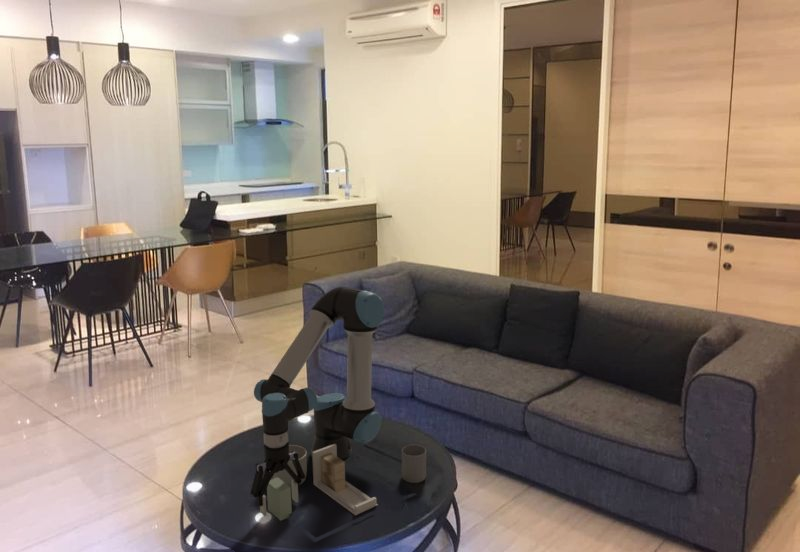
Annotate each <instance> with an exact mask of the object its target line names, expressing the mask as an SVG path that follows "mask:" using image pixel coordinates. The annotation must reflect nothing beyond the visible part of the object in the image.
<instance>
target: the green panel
mask: <svg viewBox="0 0 800 552" xmlns="http://www.w3.org/2000/svg"><path fill="white" fill-rule="evenodd" d="M266 493H267V494H266V496H267V497H266V500H267V511H269V512H270V513H271V514H272V515H274V516H275V517H276V518H277V519H278V520H279V522H280V521H283V520H286V519H288V518H290V517H292V515H291V514H292V513H293V512H292V511H293V510H292V488H291V487H290V486H288V485H287V484H286V483H285V482H283V481H282V480H281V479H279V478H278V477H277V478H274V479H273V478H271V480H270V482H269V484H268V486H267V488H266Z"/></svg>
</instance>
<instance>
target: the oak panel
mask: <svg viewBox="0 0 800 552" xmlns="http://www.w3.org/2000/svg"><path fill="white" fill-rule="evenodd" d="M321 464H322V483H324V484H325V485H326V486H328V487H329V488H330V489H332V490H333V491H335V492H336V493H337V492H340V491H342V490H344V489H345V481H346V462H345V460H344V459H343V460H341V459H340V458H338V457H337V456H335V455H334V454H332V453H330V454H327V455H324V456H322V457H321Z"/></svg>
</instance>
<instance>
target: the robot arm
mask: <svg viewBox="0 0 800 552" xmlns="http://www.w3.org/2000/svg"><path fill="white" fill-rule="evenodd" d="M384 317H385V304H384V302H383V299H382V298H381V297H380V296H379V295H378V294H377V293H375V292H371V291H369V290H364V289H357V288H352V287H348V286H338V287H334V288H332V289H330V290H329V291H327V292H326V293H325V294H323V295H322V296H320V297H319V299H318V300H317V301H316V302H315V303H314V305H313V306H312V308H311V309H310V311H309V317H308V318H307V320H306V321H305V324H304V325H303V326H302V328H301V329H300V331H299V332H298V334H297V335H296V336H295V339H293V341H292V343H291V344H290V346H288V347H289V348H287V351H286V352H285V353H284V355H283V356H282V358H281V359H280V361H279V362H278V364H277V365H276V366H275V368H274V369H273V371H272V373H271V374H270V375H269V377H268V378H267V379H265V378H264V379H261V380H259V381H257V383H256V384H255V386H254V389H253V395H254V398H255V399H256V401H258V402H260V403H261V417H262V418H261V419H262V427H263V429H262V431H263V447H264V448H263V449H264V450H263V452H264V462H262V463H261V464H260V463H256V464H255V473H254V478H253V482H252V486H251V490H250V495H251V496H252V497H254V498H256V503H257V505H258V506H259V513H261V514H262V516H264V517H265V516H267V501H266V500H267V497H266V496H267V495H265V493H266V491H267V486H268V484H269V482H270V480H271V479H272V478H273V475H274V473H277V472H279V471H282V470H284V469H285V470H286V471H287V472H288V473H289V475H290V476H291V477H292V478H293V479H294V480H292V481H291V501H293V502H294V503H299V492H300V489H301V484H300V483H301V482H302V481H301V479H304V478H305V475H304V472H303V470H302V467H301V465H300V463H299V460H298V454H297V453H296V452H294V451H292V452H291V453H290V454H289V445H290V443H289V422H290V421H291V420H293V419H295V418H299V417H301V416H302V415H305V414H308V413H309V412H311V411H313V419H314V438H313V442H312V446H311V449H310V458H311V459H312V460H313V456H312V452H313V451H316V450H319V449H322V448H324V447H327V446H330V445H332V444H336V445H337V457H338V458H340V459H341V460H343V461H344V460H345V459H347V458H349V457H350V456H351V454H352V445H351V442H350V440H353V441H355V442H359V443H362V444H367V443H369V442H370V443H371V441H373V440H374V439H375V438H376V436H377V435H378V433H379V432H380V429H381V427H382V426H381V425H382V419H383V418H382V416H381V413H379V412H378V411H376V402H375V401H374V399H372V367H373V366H372V365H373V364H372V363H373V335H374V334H373V333H375V332H376V331H377V330H378V326H380V325H381V323H382V322H383V319H384ZM338 321H343V325H342V326H343V330H344V331H345V333H347V353H346V354H347V355H346V356H347V357H346V358H347V362H346V366H347V367H346V368H347V369H346V373H347V374H346V395H345V394H343V393H340V392H331V393H325V394H322V395H319V396H318V397H317V393H316V392H315V391H314V390H313V389H312V388H310V387H304V388H301V389H294V388H292V387H291V386H292V384H293V382H294V381H295V379H296V378H297V376H298V375H299V374H300V372H301V370H302V369H303V367H304V366H305V364H306V363H307V362H308V359H310V356H311V355H312V353H313V352H314V350H315V349H316V347H317V346H318V344H319V343H320V342H321V339H323V337H324V335H325V334H326V332H327V330H328V329H329V328H332V327H334V324H335V323H336V322H338ZM289 459H292V462H293V464H294V467H295V469H296V472H297V474H298V475H296V474H295V473H294V472H293V470H292V469H291V468H290V467H289V465H288V464H287V463H288V461H289Z"/></svg>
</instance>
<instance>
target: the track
mask: <svg viewBox="0 0 800 552" xmlns="http://www.w3.org/2000/svg"><path fill="white" fill-rule="evenodd" d="M330 453H332V454H334V455H335V456H337V445H336V444H332V445H330V446H327V447H324V448H322V449H319V450H316V451H313V452H312V456H313V459H312V476H313V481H312V482H313V486H315V487H316V488H318V489H319V490H320V491H322V492H323V493H324V494H326V495H328V497H330V498H331V499H333V500H334V501H335V502H336V503H338V504H339V505H340V506H342V507H343V508H345V509H346V510H348V511H349V512H350V513H352V514H353V515H354V516H357V515H359V514H361V513H364V512H365V511H368V510H370V509H372V508H374V507H376V506H378V505H379V504H378V503H377V497H376V496H373V497H370V496H369V495H367V494H366V493H364V492H363V491H362V490H360V489H358V488H357V487H355V486H354V485H353V484H351V483H350V482H348V481H347V480H345V489H344V490H342V491H340V492H337V493H336V492H335V491H333V490H332V489H330V488H329V487H328V486H326V485H325V484H324V483H322V464H321V457H322V456H324V455H327V454H330Z"/></svg>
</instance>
